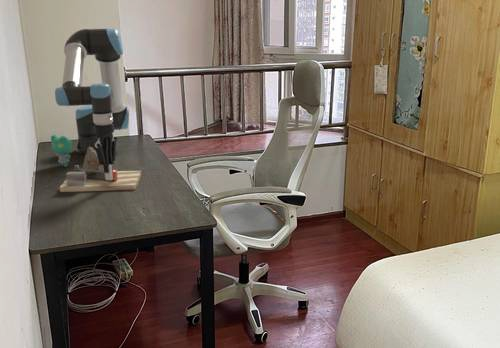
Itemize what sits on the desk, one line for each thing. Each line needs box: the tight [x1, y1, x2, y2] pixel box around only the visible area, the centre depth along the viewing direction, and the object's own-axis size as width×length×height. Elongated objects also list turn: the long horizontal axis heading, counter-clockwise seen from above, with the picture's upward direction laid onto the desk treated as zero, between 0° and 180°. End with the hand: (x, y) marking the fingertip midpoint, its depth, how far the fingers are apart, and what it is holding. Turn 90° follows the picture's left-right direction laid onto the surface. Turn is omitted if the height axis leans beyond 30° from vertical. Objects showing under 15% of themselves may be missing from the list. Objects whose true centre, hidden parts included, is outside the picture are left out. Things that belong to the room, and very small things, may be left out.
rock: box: [82, 147, 104, 171], centre depth 225 cm, size 14×10×8 cm
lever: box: [79, 168, 118, 182], centre depth 208 cm, size 4×18×4 cm, turn 72°
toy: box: [50, 134, 73, 168], centre depth 231 cm, size 9×8×15 cm
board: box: [59, 164, 142, 193], centre depth 209 cm, size 19×30×7 cm, turn 95°
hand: (109, 179), depth 204 cm, fingers closed
